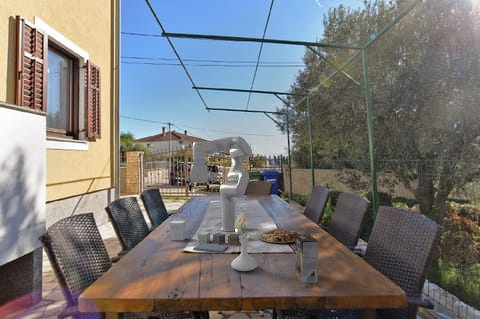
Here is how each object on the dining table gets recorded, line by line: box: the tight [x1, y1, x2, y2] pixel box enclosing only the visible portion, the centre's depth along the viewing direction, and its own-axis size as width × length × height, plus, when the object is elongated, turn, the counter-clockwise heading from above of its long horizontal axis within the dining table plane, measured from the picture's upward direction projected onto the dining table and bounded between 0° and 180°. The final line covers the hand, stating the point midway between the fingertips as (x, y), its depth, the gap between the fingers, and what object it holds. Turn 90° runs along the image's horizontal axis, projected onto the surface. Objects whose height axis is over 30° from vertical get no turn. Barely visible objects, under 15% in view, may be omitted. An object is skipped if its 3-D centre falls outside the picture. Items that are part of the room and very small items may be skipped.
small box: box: [169, 220, 187, 241], centre depth 167 cm, size 8×6×10 cm
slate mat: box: [193, 243, 229, 253], centre depth 149 cm, size 9×16×1 cm, turn 73°
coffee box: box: [294, 233, 319, 284], centre depth 111 cm, size 9×6×16 cm
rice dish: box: [257, 228, 304, 244], centre depth 168 cm, size 28×28×5 cm
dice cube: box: [212, 232, 226, 245], centre depth 160 cm, size 5×5×5 cm
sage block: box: [197, 230, 211, 244], centre depth 162 cm, size 6×5×5 cm
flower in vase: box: [230, 211, 258, 272], centre depth 120 cm, size 13×11×25 cm
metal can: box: [234, 227, 245, 235], centre depth 168 cm, size 5×5×6 cm
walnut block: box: [227, 233, 241, 246], centre depth 157 cm, size 6×5×5 cm
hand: (199, 191), depth 165 cm, fingers open, 9 cm apart
